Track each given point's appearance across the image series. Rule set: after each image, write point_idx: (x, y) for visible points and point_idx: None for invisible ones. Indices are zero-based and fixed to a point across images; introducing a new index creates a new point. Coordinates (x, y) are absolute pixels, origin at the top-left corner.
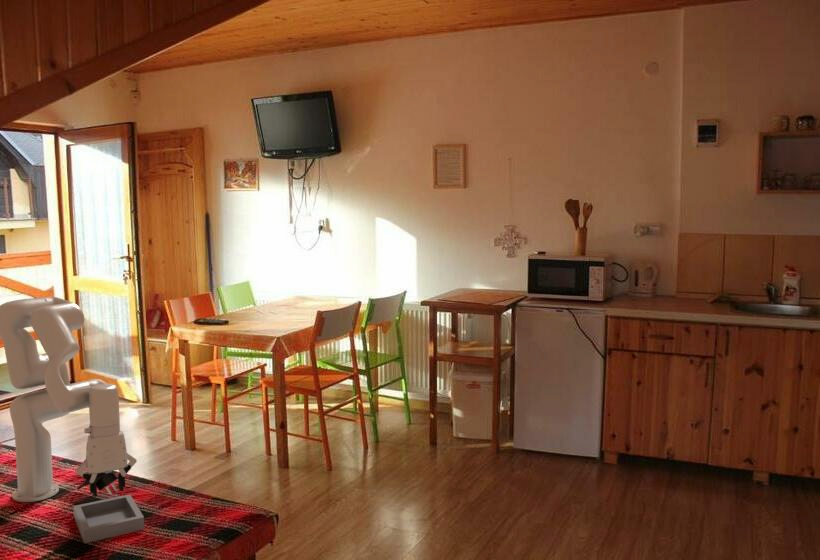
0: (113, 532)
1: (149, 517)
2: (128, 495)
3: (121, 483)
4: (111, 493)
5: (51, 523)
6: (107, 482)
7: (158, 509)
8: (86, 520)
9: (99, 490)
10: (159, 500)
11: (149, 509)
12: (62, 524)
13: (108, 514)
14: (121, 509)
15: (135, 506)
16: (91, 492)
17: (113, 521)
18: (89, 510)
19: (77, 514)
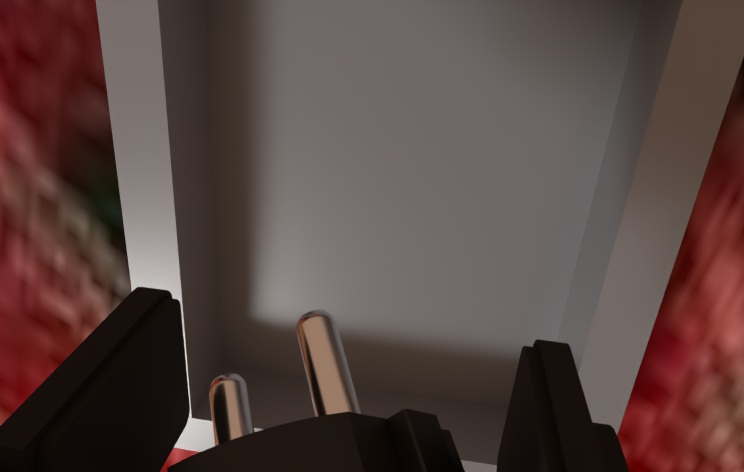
0: None
1: (88, 110)
2: None
3: (96, 361)
4: (310, 320)
5: (732, 452)
6: (320, 470)
7: (14, 207)
8: (631, 184)
9: (451, 442)
10: (3, 336)
11: (77, 247)
12: (681, 395)
13: (361, 324)
14: (258, 344)
15: (136, 200)
16: (601, 426)
17: (360, 184)
18: (478, 426)
19: (638, 359)
